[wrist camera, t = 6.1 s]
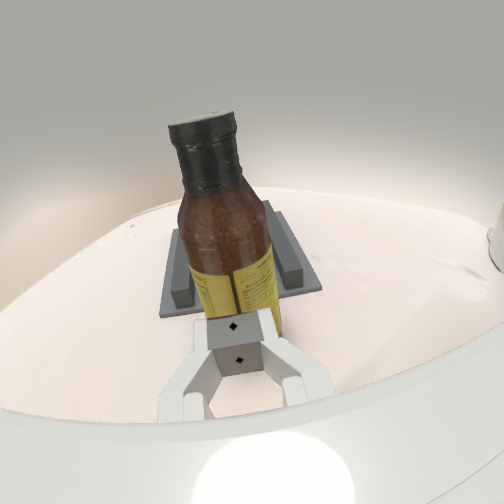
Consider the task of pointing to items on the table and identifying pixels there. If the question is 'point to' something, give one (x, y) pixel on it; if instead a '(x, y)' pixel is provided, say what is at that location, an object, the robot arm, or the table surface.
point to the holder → (285, 262)
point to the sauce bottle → (222, 220)
